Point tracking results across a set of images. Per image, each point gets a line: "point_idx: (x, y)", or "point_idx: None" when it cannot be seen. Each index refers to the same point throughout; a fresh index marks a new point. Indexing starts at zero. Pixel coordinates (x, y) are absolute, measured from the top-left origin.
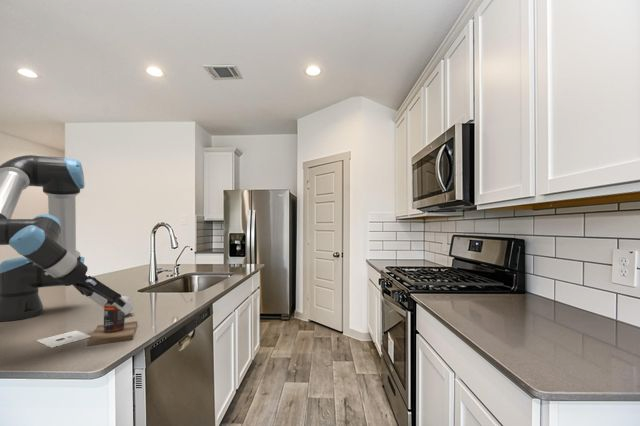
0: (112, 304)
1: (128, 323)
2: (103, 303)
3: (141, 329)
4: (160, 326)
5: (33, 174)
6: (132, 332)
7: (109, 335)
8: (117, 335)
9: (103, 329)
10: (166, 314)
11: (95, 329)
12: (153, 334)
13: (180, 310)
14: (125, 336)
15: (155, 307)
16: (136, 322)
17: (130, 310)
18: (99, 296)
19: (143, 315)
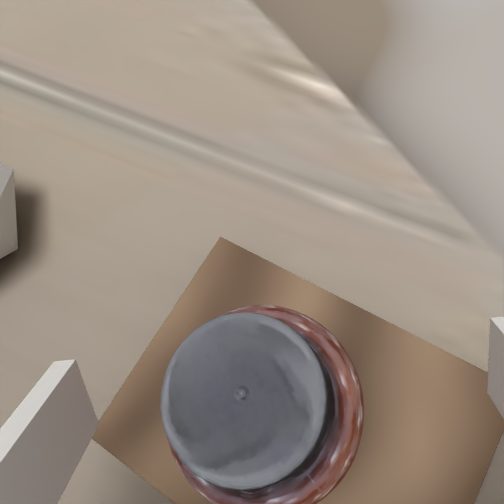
0: (333, 460)
1: (225, 292)
2: (70, 434)
3: (330, 266)
4: (364, 176)
5: None
6: (454, 363)
7: (396, 499)
8: (444, 462)
9: None
10: (176, 77)
11: (168, 495)
12: (492, 262)
13: (174, 13)
14: (501, 431)
15: (11, 68)
16: (247, 252)
17: (13, 188)
18: (7, 492)
19: (83, 156)
